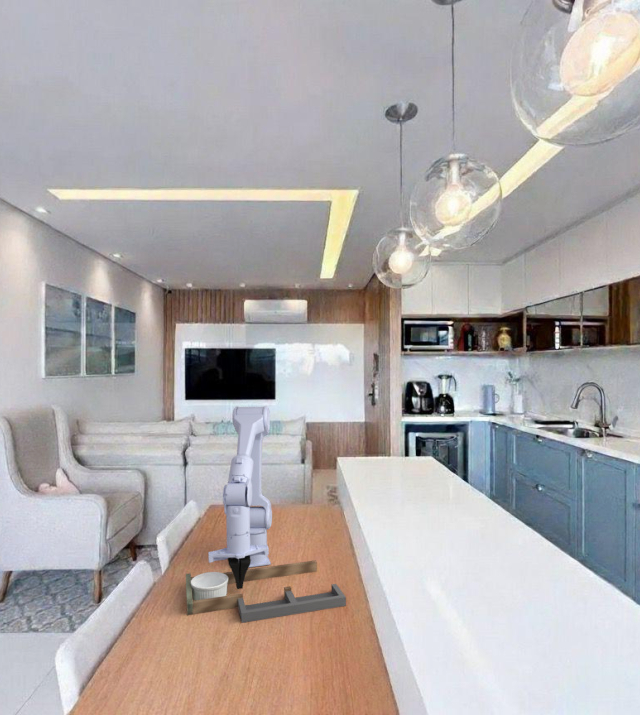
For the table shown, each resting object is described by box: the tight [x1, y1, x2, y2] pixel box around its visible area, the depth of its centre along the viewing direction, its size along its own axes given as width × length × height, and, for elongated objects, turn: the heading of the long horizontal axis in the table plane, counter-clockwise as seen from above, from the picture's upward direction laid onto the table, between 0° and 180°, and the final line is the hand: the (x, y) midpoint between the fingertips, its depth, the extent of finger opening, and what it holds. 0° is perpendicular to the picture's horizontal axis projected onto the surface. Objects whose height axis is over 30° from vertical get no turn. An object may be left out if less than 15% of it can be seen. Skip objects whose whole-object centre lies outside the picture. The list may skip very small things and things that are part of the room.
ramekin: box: [191, 571, 228, 601], centre depth 120 cm, size 9×9×4 cm
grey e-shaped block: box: [237, 583, 347, 624], centre depth 115 cm, size 24×7×2 cm, turn 106°
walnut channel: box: [185, 559, 318, 616], centre depth 123 cm, size 34×14×4 cm, turn 106°
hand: (239, 587), depth 122 cm, fingers closed
